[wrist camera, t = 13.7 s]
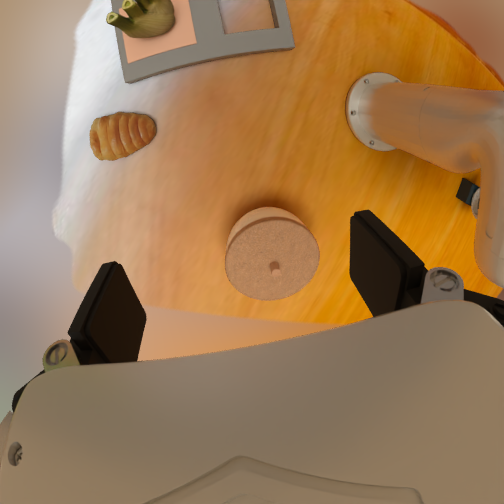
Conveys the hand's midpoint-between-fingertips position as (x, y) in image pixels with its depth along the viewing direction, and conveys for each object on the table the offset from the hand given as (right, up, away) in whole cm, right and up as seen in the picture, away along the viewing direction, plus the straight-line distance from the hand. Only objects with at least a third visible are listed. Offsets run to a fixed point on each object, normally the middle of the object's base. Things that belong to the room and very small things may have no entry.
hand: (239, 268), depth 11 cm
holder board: (-6, +31, +16) cm, 36 cm away
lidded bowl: (+2, +4, +34) cm, 34 cm away
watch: (+44, +13, +33) cm, 57 cm away
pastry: (-18, +18, +23) cm, 34 cm away
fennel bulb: (-11, +29, +14) cm, 34 cm away
